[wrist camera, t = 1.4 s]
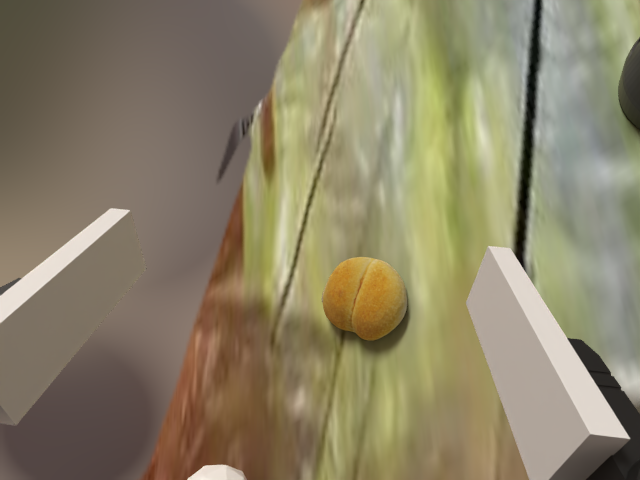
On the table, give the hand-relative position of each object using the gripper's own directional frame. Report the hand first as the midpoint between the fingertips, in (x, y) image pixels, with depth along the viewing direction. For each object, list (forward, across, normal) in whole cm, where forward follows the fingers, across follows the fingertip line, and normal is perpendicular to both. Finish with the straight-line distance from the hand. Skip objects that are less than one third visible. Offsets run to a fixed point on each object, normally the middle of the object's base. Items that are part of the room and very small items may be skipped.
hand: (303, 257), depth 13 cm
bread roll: (+18, +5, -18) cm, 26 cm away
